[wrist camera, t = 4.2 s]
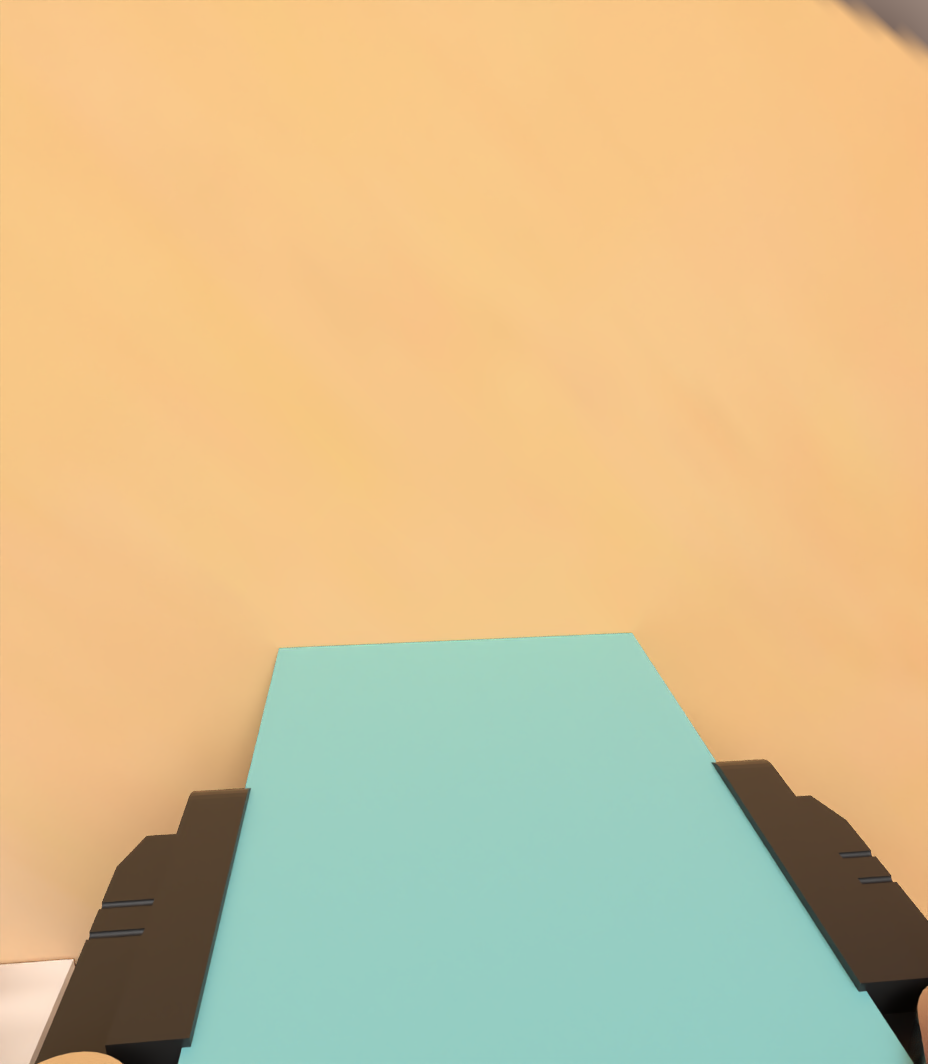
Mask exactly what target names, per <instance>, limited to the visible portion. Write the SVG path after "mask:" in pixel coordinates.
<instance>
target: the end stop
mask: <svg viewBox="0 0 928 1064" xmlns="http://www.w3.org/2000/svg"><path fill="white" fill-rule="evenodd" d="M74 968H75V964H74V959H67V960H54V961H41V962H28V963H14V964H1V965H0V1064H34V1063H35V1061H36V1059H37V1057H38V1055H39V1052H40V1050H41V1048H42V1045H43V1043H44V1040H45V1038H46V1036H47V1033H48V1031H49V1028H50V1026H51V1024H52V1021H53V1019H54V1016H55V1014H56V1012H57V1009H58V1007H59V1004H60V1002H61V1000H62V997H63V995H64V992H65V990H66V988H67V985H68V983H69V980H70V978H71V976H72V973H73V971H74Z"/></svg>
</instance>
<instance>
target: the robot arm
mask: <svg viewBox="0 0 928 1064" xmlns="http://www.w3.org/2000/svg"><path fill="white" fill-rule="evenodd" d="M711 763H712V764H713V766H714V767H715V769H716V770H717V772H718V774H719V775H720V777H721V778H722V780H723V781H724V783H725V784H726V786H727V788H728V789H729V791H730V792H731V794H732V795H733V797H734V798H735V800H736V802H737V803H738V805H739V806H740V808H741V809H742V811H743V812H744V814H745V816H746V817H747V819H748V820H749V822H750V823H751V825H752V827H753V828H754V830H755V831H756V833H757V834H758V836H759V837H760V839H761V841H762V842H763V844H764V845H765V847H766V848H767V850H768V851H769V853H770V855H771V856H772V858H773V859H774V861H775V862H776V864H777V865H778V867H779V869H780V870H781V872H782V873H783V875H784V876H785V878H786V879H787V881H788V883H789V884H790V886H791V887H792V889H793V890H794V892H795V893H796V895H797V897H798V898H799V900H800V901H801V903H802V904H803V906H804V907H805V909H806V911H807V912H808V914H809V915H810V917H811V918H812V920H813V921H814V923H815V925H816V926H817V928H818V929H819V931H820V932H821V934H822V935H823V937H824V939H825V940H826V942H827V943H828V945H829V946H830V948H831V949H832V951H833V953H834V954H835V956H836V957H837V959H838V960H839V962H840V963H841V965H842V967H843V968H844V970H845V971H846V973H847V974H848V976H849V977H850V979H851V981H852V982H853V984H854V985H855V987H856V988H857V990H858V991H859V992H863V991H867V993H868V994H869V996H870V997H871V999H872V1000H873V1002H874V1004H875V1005H876V1007H877V1008H878V1010H879V1011H880V1013H881V1014H882V1016H883V1017H884V1019H885V1020H886V1022H887V1023H888V1025H889V1026H890V1028H891V1030H892V1031H893V1033H894V1034H895V1036H896V1037H897V1039H898V1040H899V1042H900V1043H901V1045H902V1046H903V1048H904V1049H905V1051H906V1052H907V1054H908V1055H909V1057H910V1059H911V1060H912V1062H913V1063H914V1064H928V920H927V919H926V918H925V917H924V915H923V914H922V913H921V912H920V911H919V909H918V908H917V907H916V906H915V904H914V903H913V902H912V901H911V899H910V898H909V897H908V896H907V894H906V893H905V892H904V891H903V890H902V888H901V887H900V886H899V885H898V883H897V882H892V879H891V875H890V874H889V872H888V871H887V870H886V869H885V867H884V866H883V865H882V864H881V862H880V861H879V860H878V859H877V857H876V856H875V857H872V855H871V850H870V849H869V848H868V846H867V845H866V844H865V843H864V841H863V840H862V839H861V838H860V836H859V835H858V834H857V833H856V832H855V830H854V829H853V828H852V827H851V825H850V824H849V823H848V822H847V820H845V819H844V818H842V817H841V816H839V815H838V814H836V813H835V812H834V811H832V810H831V809H829V808H828V807H826V806H825V805H823V804H822V803H821V802H819V801H818V800H816V799H815V798H813V797H812V796H797V797H796V796H795V795H794V793H793V792H792V791H791V789H790V788H789V787H788V785H787V784H786V783H785V781H784V780H783V779H782V777H781V776H780V775H779V773H778V772H777V771H776V769H775V768H774V767H773V766H772V764H771V763H770V762H768V761H767V760H764V759H763V760H745V761H727V762H711ZM250 790H251V788H243V789H226V790H209V791H193V792H192V793H191V795H190V796H189V799H188V802H187V805H186V808H185V811H184V813H183V816H182V819H181V822H180V825H179V828H178V831H177V834H171V835H155V836H146V837H145V838H144V839H143V840H142V841H141V842H140V843H139V845H138V846H137V847H136V848H135V849H134V850H133V851H132V852H131V853H130V854H129V855H128V856H127V857H126V858H125V859H124V860H123V861H122V862H121V863H120V864H119V865H118V866H117V868H116V870H115V872H114V875H113V877H112V880H111V882H110V884H109V887H108V889H107V892H106V894H105V896H104V899H103V901H102V909H99V911H98V913H97V916H96V918H95V920H94V923H93V925H92V928H91V930H90V937H89V940H86V942H85V944H84V947H83V949H82V952H81V954H80V956H79V959H78V961H77V964H76V966H75V968H74V971H73V973H72V976H71V978H70V980H69V983H68V985H67V988H66V990H65V992H64V995H63V997H62V1000H61V1002H60V1004H59V1007H58V1009H57V1012H56V1014H55V1016H54V1019H53V1021H52V1024H51V1026H50V1028H49V1031H48V1033H47V1036H46V1038H45V1040H44V1043H43V1045H42V1048H41V1050H40V1052H39V1055H38V1057H37V1059H36V1061H35V1063H34V1064H178V1062H179V1058H180V1054H181V1050H182V1048H185V1047H191V1044H192V1040H193V1036H194V1031H195V1027H196V1023H197V1018H198V1014H199V1010H200V1006H201V1001H202V997H203V993H204V988H205V984H206V980H207V975H208V971H209V967H210V962H211V958H212V954H213V950H214V945H215V941H216V937H217V932H218V928H219V924H220V919H221V915H222V911H223V907H224V902H225V898H226V894H227V889H228V885H229V881H230V876H231V872H232V868H233V863H234V859H235V855H236V851H237V846H238V842H239V838H240V833H241V829H242V825H243V820H244V816H245V812H246V808H247V803H248V799H249V795H250Z"/></svg>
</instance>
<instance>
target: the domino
mask: <svg viewBox="0 0 928 1064" xmlns="http://www.w3.org/2000/svg"><path fill="white" fill-rule="evenodd" d="M711 762H716V761H715V759H714V757H713V756H712V754H711V753H710V751H709V750H708V748H707V747H706V745H705V744H704V742H703V741H702V739H701V738H700V736H699V735H698V733H697V732H696V730H695V728H694V727H693V725H692V724H691V722H690V721H689V719H688V718H687V716H686V715H685V713H684V712H683V710H682V709H681V707H680V706H679V704H678V702H677V701H676V699H675V698H674V696H673V695H672V693H671V692H670V690H669V689H668V687H667V686H666V684H665V683H664V681H663V680H662V678H661V677H660V675H659V673H658V672H657V670H656V669H655V667H654V666H653V664H652V663H651V661H650V660H649V658H648V657H647V655H646V654H645V652H644V651H643V649H642V647H641V646H640V644H639V643H638V641H637V640H636V638H635V637H634V635H633V634H632V633H618V634H595V635H572V636H549V637H526V638H503V639H480V640H457V641H434V642H411V643H387V644H364V645H341V646H318V647H295V648H279V651H278V655H277V659H276V663H275V667H274V671H273V676H272V680H271V684H270V688H269V692H268V696H267V700H266V704H265V708H264V713H263V717H262V721H261V725H260V729H259V733H258V737H257V741H256V745H255V750H254V754H253V758H252V762H251V766H250V770H249V774H248V778H247V782H246V787H245V788H251V790H250V795H249V799H248V803H247V808H246V812H245V816H244V820H243V825H242V829H241V833H240V838H239V842H238V846H237V851H236V855H235V859H234V863H233V868H232V872H231V876H230V881H229V885H228V889H227V894H226V898H225V902H224V907H223V911H222V915H221V919H220V924H219V928H218V932H217V937H216V941H215V945H214V950H213V954H212V958H211V962H210V967H209V971H208V975H207V980H206V984H205V988H204V993H203V997H202V1001H201V1006H200V1010H199V1014H198V1018H197V1023H196V1027H195V1031H194V1036H193V1040H192V1044H191V1047H185V1048H182V1050H181V1054H180V1058H179V1062H178V1064H914V1063H913V1062H912V1060H911V1059H910V1057H909V1055H908V1054H907V1052H906V1051H905V1049H904V1048H903V1046H902V1045H901V1043H900V1042H899V1040H898V1039H897V1037H896V1036H895V1034H894V1033H893V1031H892V1030H891V1028H890V1026H889V1025H888V1023H887V1022H886V1020H885V1019H884V1017H883V1016H882V1014H881V1013H880V1011H879V1010H878V1008H877V1007H876V1005H875V1004H874V1002H873V1000H872V999H871V997H870V996H869V994H868V993H867V991H863V992H859V991H858V990H857V988H856V987H855V985H854V984H853V982H852V981H851V979H850V977H849V976H848V974H847V973H846V971H845V970H844V968H843V967H842V965H841V963H840V962H839V960H838V959H837V957H836V956H835V954H834V953H833V951H832V949H831V948H830V946H829V945H828V943H827V942H826V940H825V939H824V937H823V935H822V934H821V932H820V931H819V929H818V928H817V926H816V925H815V923H814V921H813V920H812V918H811V917H810V915H809V914H808V912H807V911H806V909H805V907H804V906H803V904H802V903H801V901H800V900H799V898H798V897H797V895H796V893H795V892H794V890H793V889H792V887H791V886H790V884H789V883H788V881H787V879H786V878H785V876H784V875H783V873H782V872H781V870H780V869H779V867H778V865H777V864H776V862H775V861H774V859H773V858H772V856H771V855H770V853H769V851H768V850H767V848H766V847H765V845H764V844H763V842H762V841H761V839H760V837H759V836H758V834H757V833H756V831H755V830H754V828H753V827H752V825H751V823H750V822H749V820H748V819H747V817H746V816H745V814H744V812H743V811H742V809H741V808H740V806H739V805H738V803H737V802H736V800H735V798H734V797H733V795H732V794H731V792H730V791H729V789H728V788H727V786H726V784H725V783H724V781H723V780H722V778H721V777H720V775H719V774H718V772H717V770H716V769H715V767H714V766H713V764H712V763H711Z"/></svg>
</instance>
